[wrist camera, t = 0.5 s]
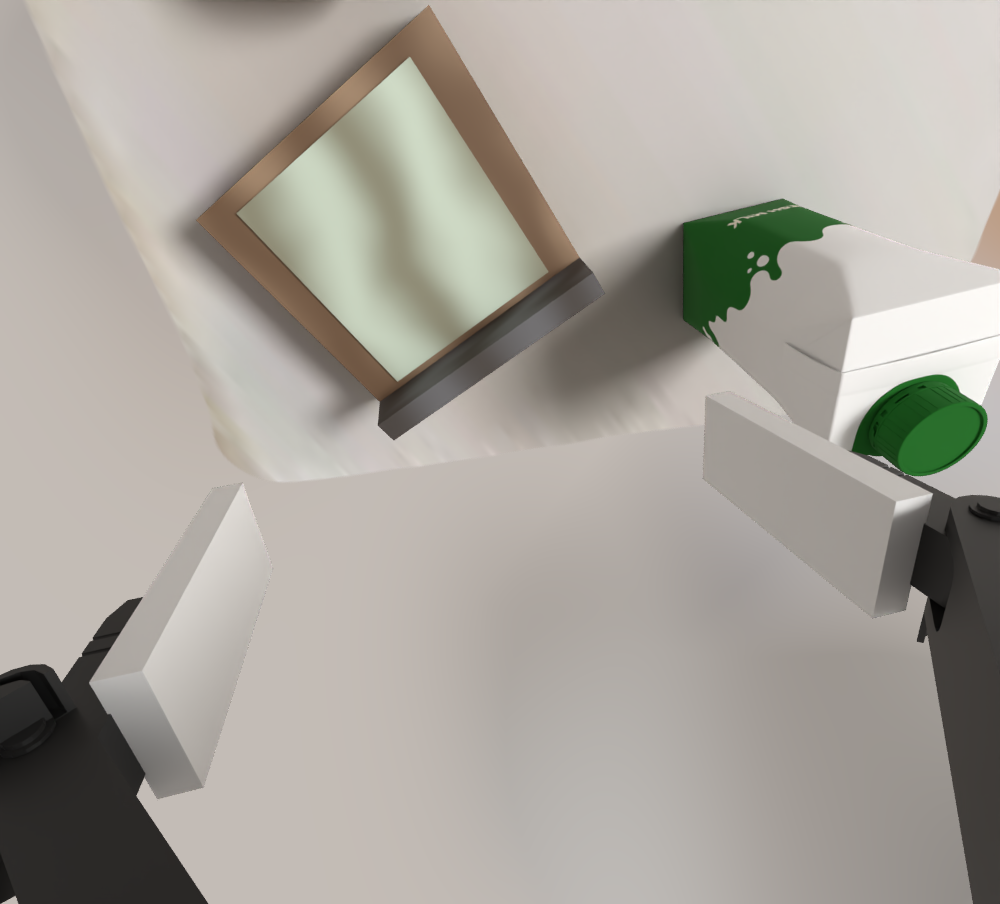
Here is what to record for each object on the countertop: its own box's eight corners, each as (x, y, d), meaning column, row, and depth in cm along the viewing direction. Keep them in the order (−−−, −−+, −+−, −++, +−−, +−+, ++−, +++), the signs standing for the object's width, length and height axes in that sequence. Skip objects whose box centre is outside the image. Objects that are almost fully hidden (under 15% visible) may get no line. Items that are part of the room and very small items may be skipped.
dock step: (426, 11, 29) (431, -1, 23) (575, 258, 38) (605, 293, 32) (216, 204, 33) (177, 234, 27) (395, 388, 41) (393, 440, 36)
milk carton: (671, 333, 42) (836, 504, 26) (669, 209, 37) (876, 326, 20) (783, 306, 42) (1018, 459, 26) (798, 178, 37) (1107, 270, 20)
